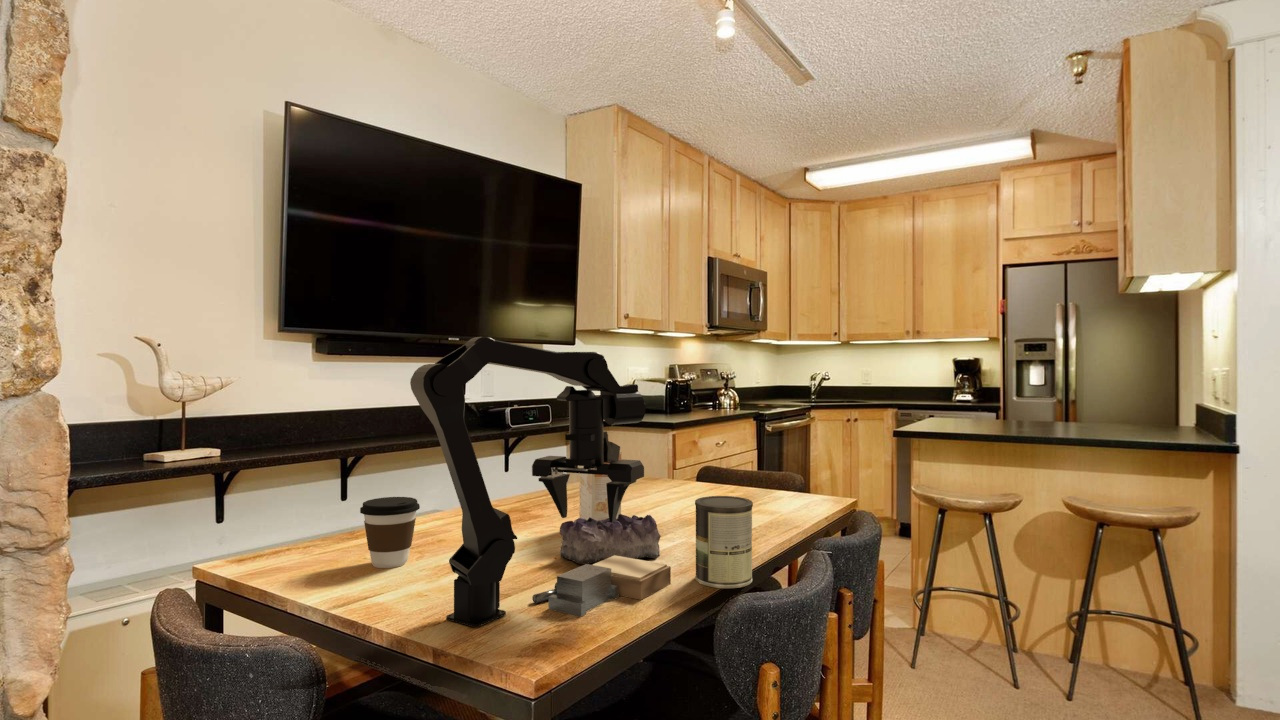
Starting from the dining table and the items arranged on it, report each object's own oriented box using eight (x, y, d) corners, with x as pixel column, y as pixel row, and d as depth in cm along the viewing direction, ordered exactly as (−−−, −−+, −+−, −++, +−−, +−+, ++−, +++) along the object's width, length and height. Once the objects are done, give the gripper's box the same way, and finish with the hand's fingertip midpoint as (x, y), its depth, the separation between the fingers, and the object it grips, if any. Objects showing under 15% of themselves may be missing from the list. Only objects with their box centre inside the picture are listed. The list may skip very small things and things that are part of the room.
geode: (648, 547, 146) (652, 501, 145) (667, 569, 135) (671, 520, 134) (554, 551, 139) (557, 503, 138) (566, 575, 128) (569, 523, 127)
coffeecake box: (622, 539, 151) (622, 451, 151) (590, 541, 149) (590, 452, 150) (607, 524, 166) (607, 443, 166) (578, 526, 164) (578, 444, 164)
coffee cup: (431, 561, 134) (431, 500, 134) (383, 575, 125) (383, 509, 125) (395, 553, 140) (396, 494, 140) (347, 565, 131) (347, 502, 131)
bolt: (539, 605, 109) (539, 590, 109) (530, 601, 111) (530, 586, 111) (568, 596, 113) (568, 582, 113) (559, 593, 115) (559, 579, 115)
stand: (640, 599, 112) (640, 578, 112) (581, 587, 118) (581, 567, 118) (670, 583, 120) (670, 564, 120) (613, 572, 127) (613, 554, 127)
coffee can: (683, 580, 122) (683, 501, 122) (715, 567, 130) (715, 493, 130) (733, 593, 115) (733, 509, 116) (763, 578, 123) (763, 500, 124)
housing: (581, 617, 104) (581, 584, 104) (548, 609, 108) (548, 577, 108) (618, 597, 113) (618, 567, 113) (587, 591, 116) (587, 561, 117)
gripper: (656, 423, 118) (658, 514, 118) (563, 421, 126) (564, 506, 126) (628, 430, 108) (630, 529, 108) (529, 427, 116) (530, 519, 116)
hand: (588, 519), depth 115 cm, fingers open, 9 cm apart
